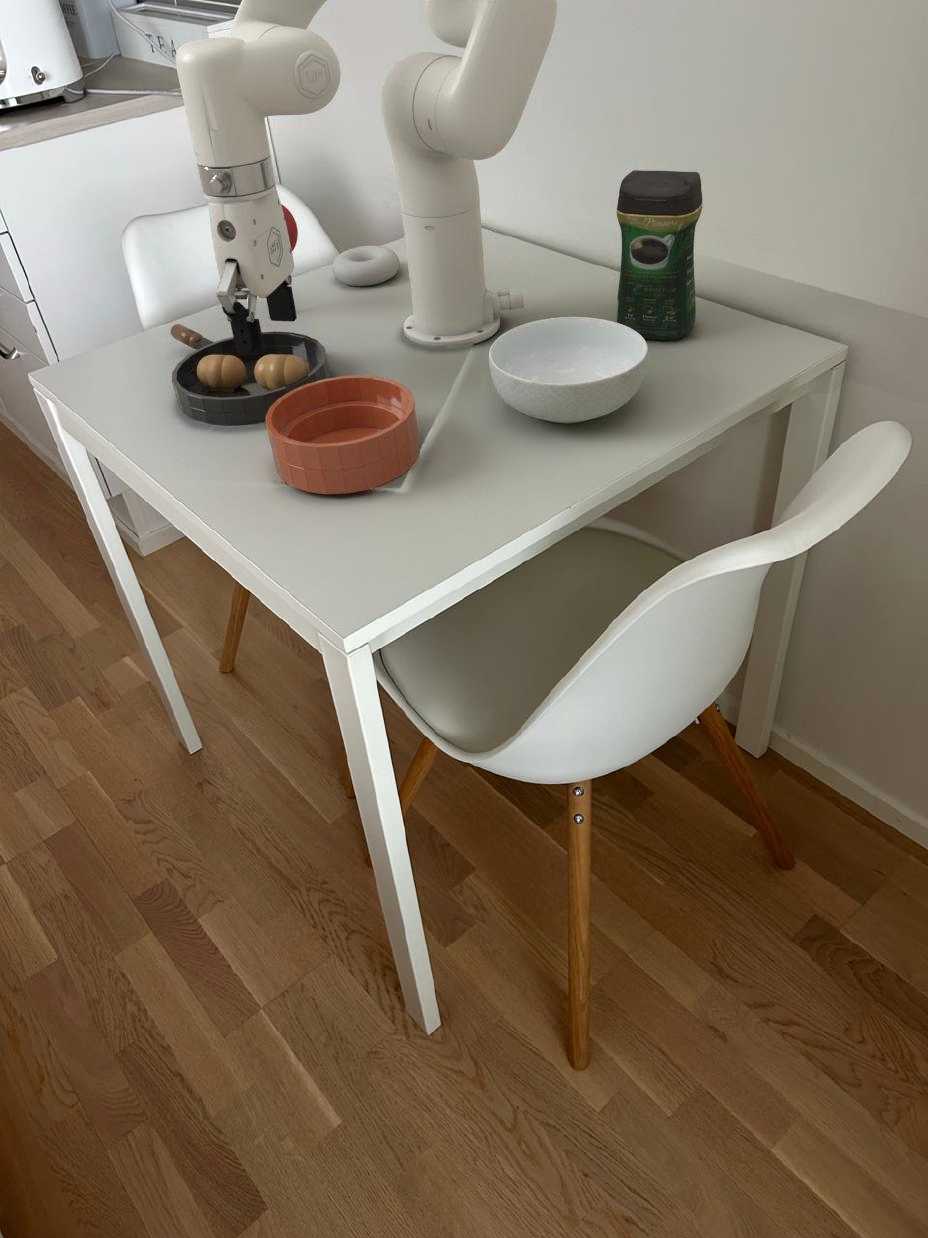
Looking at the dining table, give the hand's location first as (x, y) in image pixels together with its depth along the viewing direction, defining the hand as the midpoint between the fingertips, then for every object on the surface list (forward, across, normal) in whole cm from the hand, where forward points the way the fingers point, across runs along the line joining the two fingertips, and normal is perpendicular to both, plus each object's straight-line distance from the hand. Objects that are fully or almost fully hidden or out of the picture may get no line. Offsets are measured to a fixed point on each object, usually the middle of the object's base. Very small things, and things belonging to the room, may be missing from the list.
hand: (268, 336), depth 111 cm
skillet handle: (+5, +8, +15) cm, 18 cm away
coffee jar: (+6, +21, -42) cm, 48 cm away
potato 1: (+7, +1, +7) cm, 10 cm away
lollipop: (+7, +25, +9) cm, 27 cm away
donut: (+7, +38, +1) cm, 39 cm away
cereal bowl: (+7, 0, -35) cm, 35 cm away
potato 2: (+7, +1, -1) cm, 7 cm away
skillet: (+7, +1, +3) cm, 8 cm away
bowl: (+7, -14, -13) cm, 20 cm away
